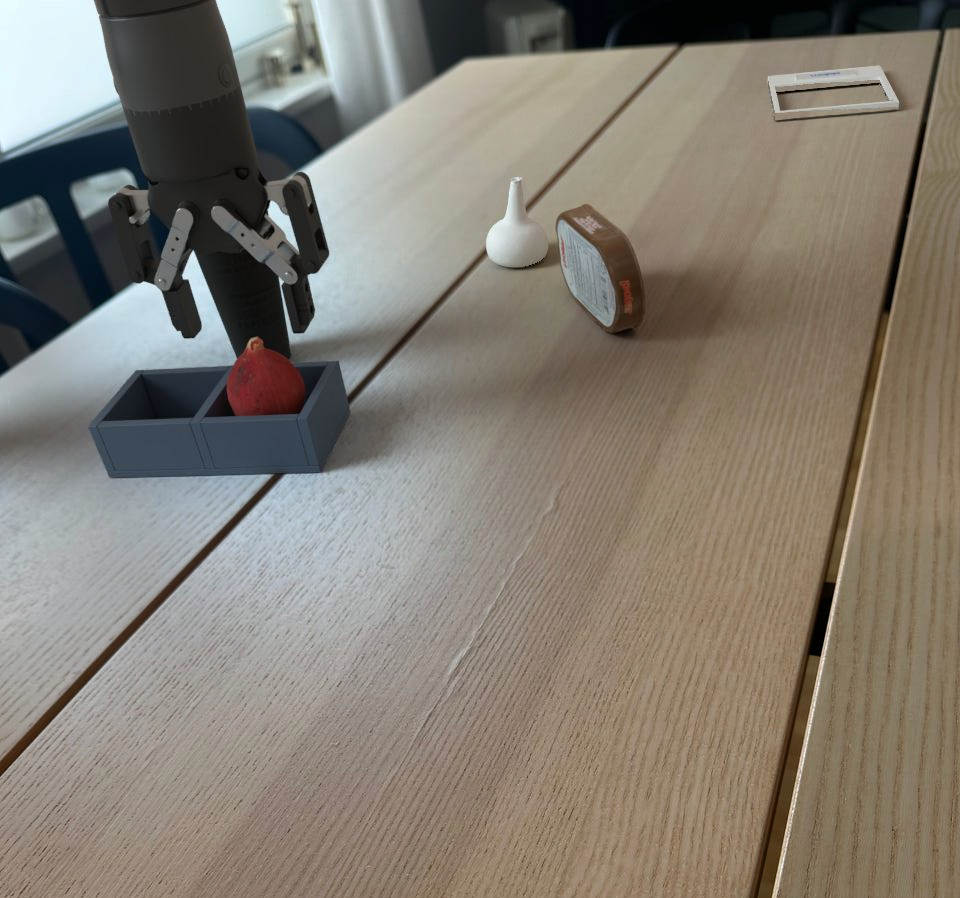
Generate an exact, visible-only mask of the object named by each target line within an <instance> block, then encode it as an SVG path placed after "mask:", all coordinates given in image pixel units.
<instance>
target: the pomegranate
mask: <svg viewBox="0 0 960 898" xmlns="http://www.w3.org/2000/svg"><path fill="white" fill-rule="evenodd" d="M292 363H293V362H291V361H290V359H289V360H288V359H287V358H286V357H284V356H283V355H281V354H280V353H278V352H275V351H273V350H270V349H267V348H264V346H263V340H262V339H260V338H259V337H255V338H251V339H250V340H249V342H248V344H247V347H246V349H245V351H244V352H243V353H242V354H241V355H240V356H239V357H238V359H237V358H236V360H235V361H234V363H233V365H232V366H233V367H232V369H231V371H230V373H229V376H228V380H227V394H228V400H229V402H230V405H231V407H232V409H233V411H234V413H235V416H258V415H284V414H299V413H300V412H301V411H302V408H303V404H304V399H305V394H306V392H305V385H304V381H303V379H302V376H301V374H300V373H299V371H298V370H297V369H296V367H295V366H294V365H293V364H292Z"/></svg>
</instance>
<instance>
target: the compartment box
mask: <svg viewBox="0 0 960 898" xmlns="http://www.w3.org/2000/svg"><path fill="white" fill-rule="evenodd" d="M291 363H292V364H293V365H294V366H295V367H296V369H297V370H298V371H299V373H300V374H301V376H302V379H303V381H304V385H305V392H306V394H305V399H304V404H303V408H302V411H301V412H300V413H299V414H284V415H258V416H235V413H234V411H233V409H232V407H231V405H230V402H229V400H228V394H227V380H228V376H229V373H230V371H231V369H232V367H233V365H220V366H219V365H218V366H217V365H216V366H198V367H177V368H176V367H175V368H173V367H172V368H155V369H136V370H134V372H133V373H132V374H131V376H130V377H129V378H128V379H127V380H126V381H125V382H124V384H123V385H122V386H121V387H120V388H119V390H117V392H116V393H115V394H114V395H113V396H112V397H111V399H110V400H109V401H108V402H107V403H106V404H105V406H104V407H103V408H102V409H101V411H100V412H99V413H98V414H97V415H96V417H94V419H93V420H92V421H90V422H91V423H89V424H88V426H87V429H88V431H89V433H90V436H91V437H92V439H93V443H94V445H95V447H96V449H97V452H98V454H99V456H100V459H101V461H102V464H103V466H104V468H105V471H106V473H107V476H108V478H110V479H114V478H115V479H116V478H119V479H121V478H153V477H154V478H156V477H195V476H199V477H200V476H233V475H236V476H238V475H239V476H240V475H270V474H273V475H274V474H313V473H322V472H323V469H324V468H325V465H326V464H327V461H328V459H329V457H330V455H331V453H332V451H333V449H334V446H335V444H336V443H337V440H338V438H339V437H340V435H341V433H342V430H343V428H344V426H345V424H346V422H347V420H348V419H349V416H350V414H351V407H350V404H349V400H348V396H347V390H346V387H345V381H344V377H343V374H342V369H341V365H340V360H323V361H320V360H319V361H303V362H302V361H301V362H300V361H299V362H291Z"/></svg>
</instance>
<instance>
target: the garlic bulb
mask: <svg viewBox="0 0 960 898" xmlns="http://www.w3.org/2000/svg"><path fill="white" fill-rule="evenodd" d="M522 181H523V177H521V176H514V177H511V178H510V182H509V183H510V184H509V185H510V186H509V193H508V200H507V207H506V211H505V215H504V217H503V218H502V219H500V220H498V221H497V222H495V223H494V224H493V225H492V226H491V228H490V229H489V231H488V233H487V235H486V240H485V241H486V242H485V249H486V253H487V256H488V258H489V260H490V261H491V262H492V263H494V264H496V265H499V266H501V267H505V268H525V266H526V267H530V266H529V265H531V266H533V265H532V264H534V265H536V264H535V263H537V262H538V263H540V262H542V261H543V260H544V259H545V258H546V257H547V254H548V251H549V237H548V234H547V232H546V230H545V228H544V227H543V226H542V225H541V223H540V222H538V221H537V220H535V219H534V218H531V217H529V216H528V213H527V208H526V203H525V198H524V197H525V196H524V191H523V190H524V189H523V184H522V183H523V182H522ZM543 258H544V259H543ZM542 259H543V260H542ZM541 260H542V261H541ZM539 261H540V262H539ZM538 263H537V264H538Z"/></svg>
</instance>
